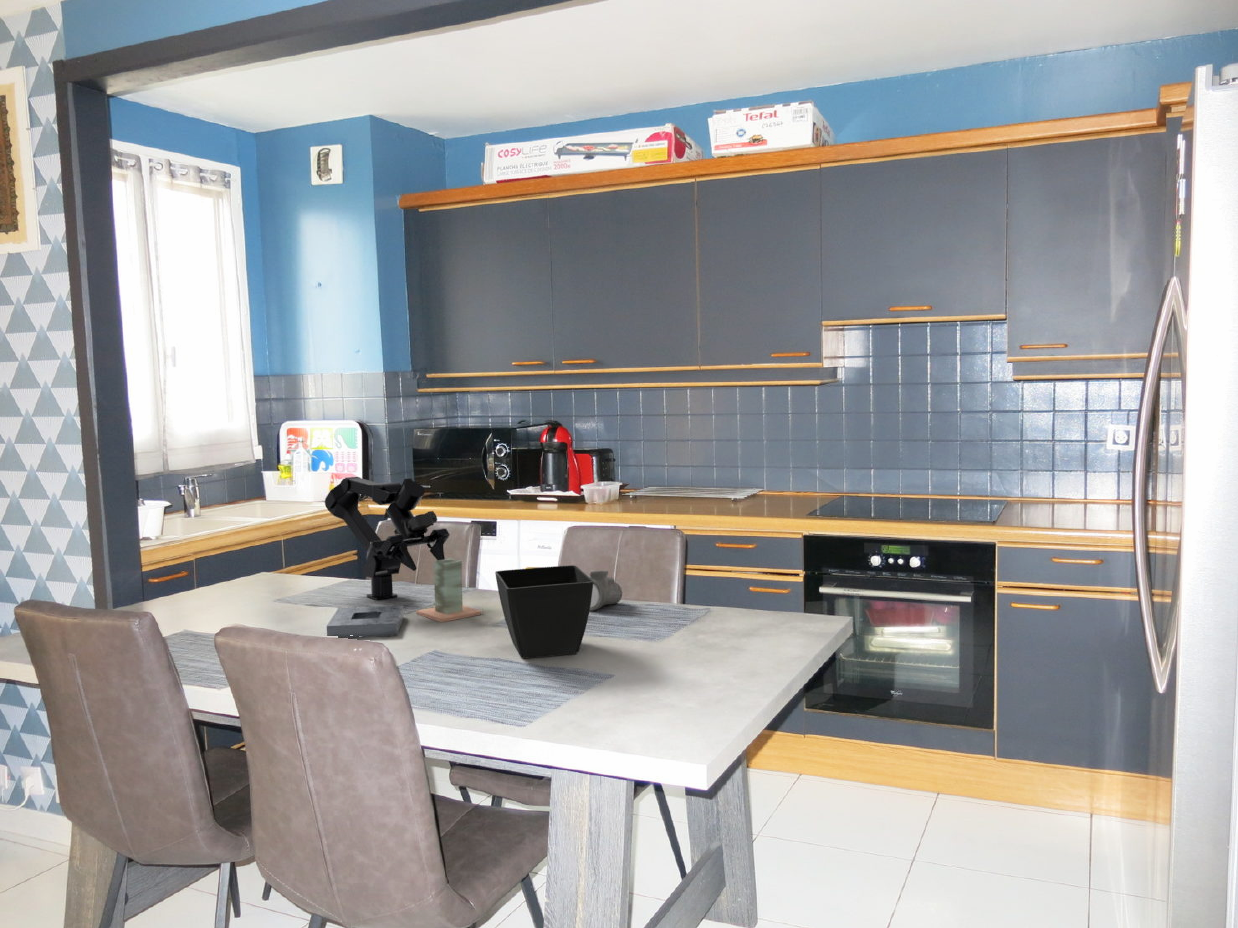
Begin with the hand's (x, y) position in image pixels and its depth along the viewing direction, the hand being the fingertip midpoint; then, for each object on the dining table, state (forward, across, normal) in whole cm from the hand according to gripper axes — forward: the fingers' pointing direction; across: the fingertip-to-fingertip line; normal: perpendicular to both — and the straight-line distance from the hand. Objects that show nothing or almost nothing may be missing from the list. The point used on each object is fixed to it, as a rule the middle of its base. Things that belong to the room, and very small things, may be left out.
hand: (429, 567), depth 255 cm
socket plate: (+10, -22, +6) cm, 25 cm away
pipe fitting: (+31, +32, -15) cm, 46 cm away
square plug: (+13, 0, +2) cm, 13 cm away
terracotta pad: (+13, 0, +2) cm, 14 cm away
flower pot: (+43, -6, -28) cm, 52 cm away
